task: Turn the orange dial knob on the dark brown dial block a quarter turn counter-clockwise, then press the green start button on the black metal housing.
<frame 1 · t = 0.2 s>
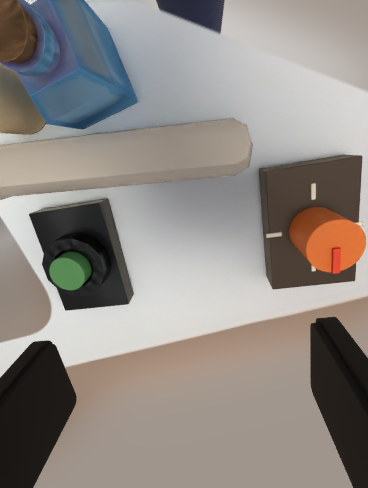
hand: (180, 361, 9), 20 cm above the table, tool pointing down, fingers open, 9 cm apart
start button: (70, 270, 26), point 4 cm above the table, slide at 0.1 cm
tube: (123, 157, 26), on the table
candle: (24, 104, 26), on the table
dial knob: (324, 238, 22), point 5 cm above the table, hinge at 0.0°
dial block: (302, 221, 27), on the table
button housing: (89, 253, 30), on the table
perfume bottle: (95, 82, 24), on the table
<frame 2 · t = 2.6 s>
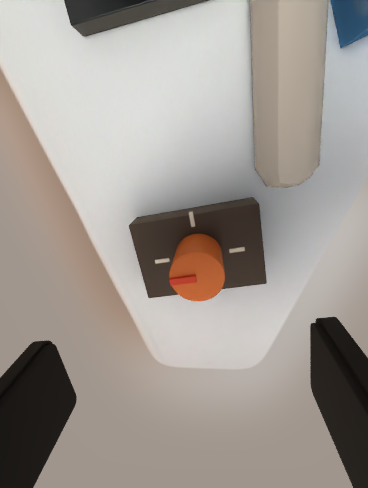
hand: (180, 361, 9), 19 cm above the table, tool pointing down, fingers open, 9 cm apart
tube: (278, 25, 21), on the table
dial knob: (197, 266, 22), point 5 cm above the table, hinge at 0.0°
dial block: (199, 244, 27), on the table
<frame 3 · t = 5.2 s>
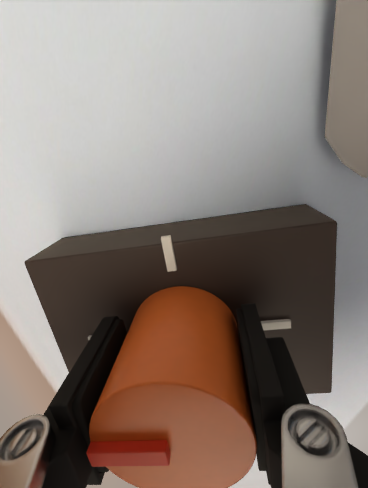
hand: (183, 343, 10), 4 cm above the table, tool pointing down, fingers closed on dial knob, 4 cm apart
dial knob: (178, 378, 9), point 5 cm above the table, hinge at -0.1°, touching gripper
dial block: (189, 293, 14), on the table
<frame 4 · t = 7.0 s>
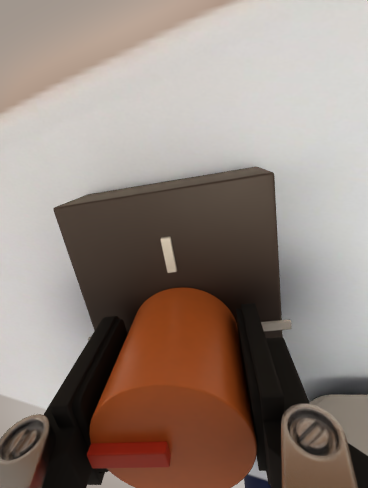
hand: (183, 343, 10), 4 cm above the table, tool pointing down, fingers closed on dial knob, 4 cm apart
dial knob: (179, 380, 9), point 5 cm above the table, hinge at 90.2°, touching gripper
dial block: (189, 294, 14), on the table
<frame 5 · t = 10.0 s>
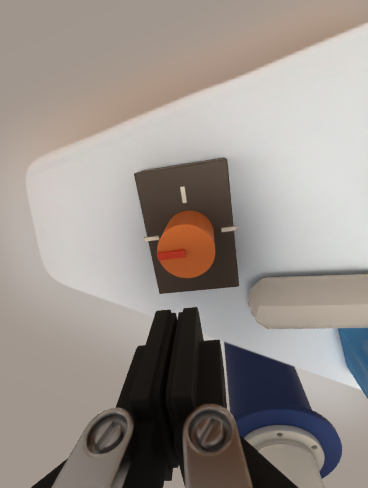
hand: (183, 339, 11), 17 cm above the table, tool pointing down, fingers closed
tube: (364, 287, 28), on the table
dial knob: (187, 242, 21), point 5 cm above the table, hinge at 91.2°
dial block: (191, 224, 27), on the table
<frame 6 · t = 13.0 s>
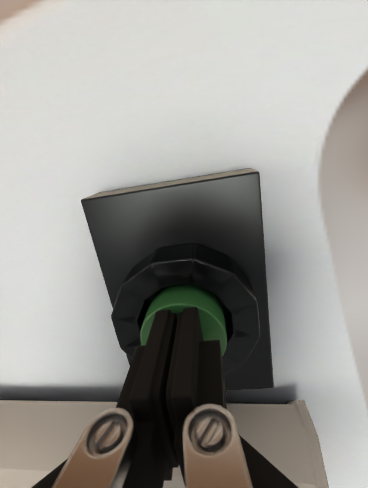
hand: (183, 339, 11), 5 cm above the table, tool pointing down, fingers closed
start button: (184, 328, 11), point 4 cm above the table, slide at -0.3 cm, touching gripper
tube: (122, 406, 19), on the table
button housing: (190, 283, 15), on the table
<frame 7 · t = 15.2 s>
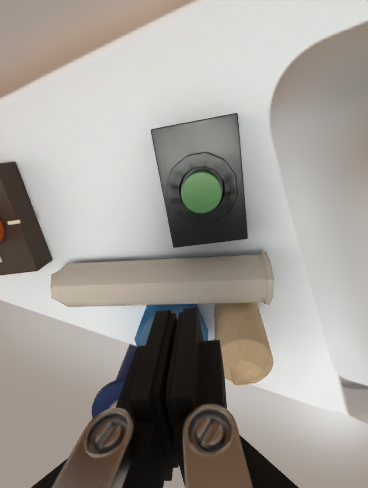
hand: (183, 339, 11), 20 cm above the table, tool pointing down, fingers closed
start button: (201, 191, 23), point 4 cm above the table, slide at 0.1 cm
tube: (159, 271, 32), on the table
candle: (235, 308, 33), on the table
dial block: (5, 218, 31), on the table
button housing: (202, 184, 28), on the table
perfume bottle: (177, 316, 34), on the table
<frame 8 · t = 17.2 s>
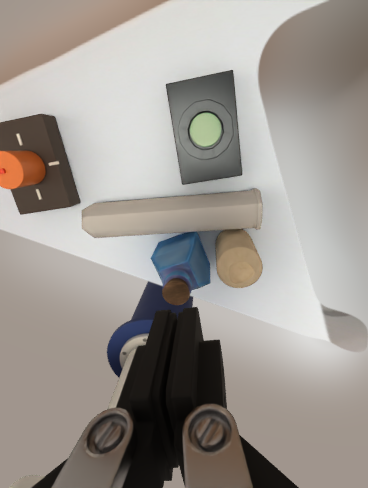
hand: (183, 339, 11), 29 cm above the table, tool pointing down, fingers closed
start button: (205, 130, 30), point 4 cm above the table, slide at 0.1 cm
tube: (170, 211, 39), on the table
candle: (233, 243, 40), on the table
dial knob: (17, 169, 33), point 5 cm above the table, hinge at 91.2°
dial block: (43, 166, 38), on the table
button housing: (205, 132, 34), on the table
perfume bottle: (184, 252, 41), on the table
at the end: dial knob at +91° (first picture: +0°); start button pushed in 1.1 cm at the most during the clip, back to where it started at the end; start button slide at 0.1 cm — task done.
